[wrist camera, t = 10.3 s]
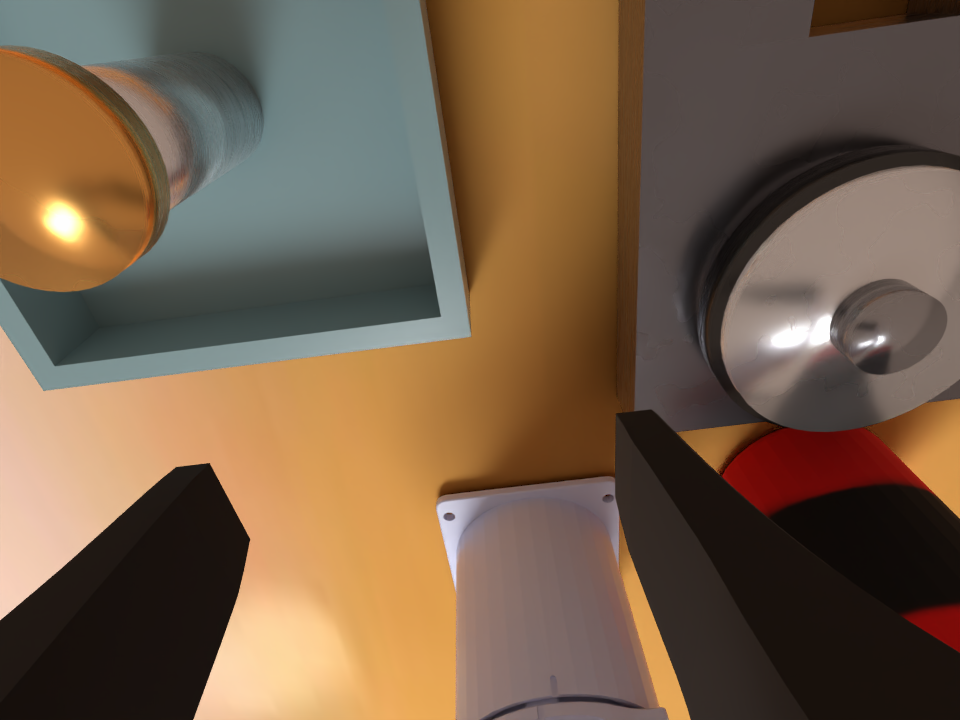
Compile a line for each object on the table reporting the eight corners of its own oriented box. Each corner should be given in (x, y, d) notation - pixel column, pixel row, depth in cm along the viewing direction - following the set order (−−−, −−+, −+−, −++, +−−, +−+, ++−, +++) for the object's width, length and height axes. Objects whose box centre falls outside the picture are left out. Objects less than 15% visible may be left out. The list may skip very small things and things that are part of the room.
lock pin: (294, 171, 17) (180, 277, 10) (171, 188, 17) (-26, 303, 10) (252, 25, 15) (72, 30, 8) (113, 44, 15) (-183, 67, 8)
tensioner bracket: (925, 359, 22) (1054, 453, 17) (616, 396, 22) (659, 498, 17) (1168, -334, 12) (1614, -555, 7) (620, -243, 13) (715, -399, 8)
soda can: (914, 472, 25) (1234, 789, 15) (771, 560, 28) (955, 877, 17) (822, 384, 22) (1135, 698, 12) (675, 493, 25) (824, 820, 15)
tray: (469, 295, 19) (471, 336, 17) (96, 343, 20) (43, 390, 17) (387, -256, 12) (368, -327, 10) (-189, -159, 13) (-348, -202, 10)
